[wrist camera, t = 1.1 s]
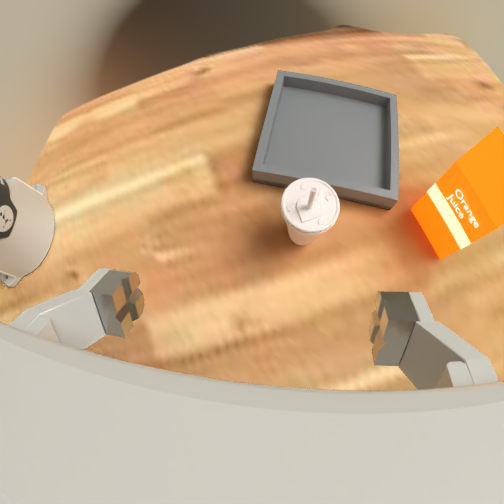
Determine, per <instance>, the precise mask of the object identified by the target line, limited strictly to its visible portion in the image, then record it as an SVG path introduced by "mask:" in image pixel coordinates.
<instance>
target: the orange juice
mask: <svg viewBox="0 0 504 504" xmlns="http://www.w3.org/2000/svg"><path fill="white" fill-rule="evenodd" d="M411 211H412V212H413V214H414V216H415V217H416V219H417V221H418V222H419V224H420V226H421V227H422V229H423V231H424V232H425V234H426V236H427V238H428V239H429V241H430V243H431V245H432V246H433V248H434V250H435V252H436V254H437V256H438V257H439V259H442V258H444V257H446V256H448V255H450V254H452V253H454V252H456V251H458V250H459V249H462V248H464V247H466V246H468V245H469V244H471V243H472V242H474V241H476V240H478V239H480V238H481V237H483V236H485V235H487V234H488V233H490V232H492V231H494V230H495V229H497V228H499V227H500V226H501V225H502V224H504V134H503V133H502V131H501V130H500V129H499V127H498V126H497V127H496V128H495V129H494V130H493V131H492V132H491V133H489V134H488V135H487V136H486V137H485V138H484V139H482V140H481V141H480V142H479V143H478V144H477V145H475V146H474V147H473V148H472V149H471V150H469V151H468V152H467V153H466V154H465V155H463V156H462V157H461V158H460V159H459V160H457V161H456V162H455V163H454V164H453V165H452V166H451V168H450V169H449V170H448V171H447V172H446V173H445V174H444V175H443V176H442V177H441V178H440V179H439V180H438V181H437V182H436V183H435V184H434V185H433V186H432V187H431V188H430V189H429V190H428V191H427V193H426V194H425V195H424V196H423V197H422V198H421V199H420V200H419V201H418V202H417V203H416V204H415V205H414V206H413V207H412V208H411Z"/></svg>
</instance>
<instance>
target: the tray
mask: <svg viewBox="0 0 504 504" xmlns="http://www.w3.org/2000/svg"><path fill="white" fill-rule="evenodd" d="M252 175H253V182H256V183H262V184H268V185H273V186H279V187H284V188H287V187H288V186H289V185H290V184H291V183H292V182H294V181H296V180H298V179H301V178H316V179H320V180H322V181H324V182H326V183H327V184H329V185H330V186H331V187H332V188H333V189H334V191H335V192H336V194H337V196H338V198H339V199H344V200H348V201H353V202H357V203H362V204H366V205H370V206H375V207H379V208H383V209H387V210H390V209H391V208H392V207H393V206H394V204H395V203H396V202H397V201H398V186H399V140H398V114H397V98H396V95H394V94H390V93H387V92H383V91H380V90H376V89H372V88H368V87H364V86H360V85H356V84H352V83H347V82H343V81H338V80H333V79H328V78H323V77H318V76H312V75H306V74H300V73H294V72H287V71H280V70H278V72H277V76H276V80H275V84H274V87H273V91H272V95H271V99H270V102H269V106H268V110H267V114H266V117H265V121H264V125H263V129H262V133H261V137H260V140H259V144H258V148H257V152H256V156H255V160H254V164H253V168H252Z"/></svg>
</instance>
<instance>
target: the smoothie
mask: <svg viewBox="0 0 504 504" xmlns="http://www.w3.org/2000/svg"><path fill="white" fill-rule="evenodd" d="M280 209H281V213H282V216H283V218H284V220H285V222H286V224H287V228H288V233H289V237H290V239H291V240H292V241H293V242H294V243H295V244H297V245H302V246H304V245H308V244H310V243H311V242H312V241H313V240H315V239H316V238H317V237H318V236H319V235H320V234H321V233H323V232H325V231H327V230H329V229H330V228H331V227H332V226H333V225H334V223H335V222H336V220H337V217H338V214H339V210H340V203H339V199H338V196H337V194H336V192H335V191H334V189H333V188H332V187H331V186H330V185H329V184H327V183H326V182H324V181H322V180H320V179H316V178H301V179H298V180H296V181H294V182H292V183H291V184H290V185H289V186H288V187H287V188H286V189H285V191H284V193H283V195H282V199H281V208H280Z"/></svg>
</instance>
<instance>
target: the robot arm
mask: <svg viewBox="0 0 504 504" xmlns="http://www.w3.org/2000/svg"><path fill="white" fill-rule="evenodd" d="M54 226H55V220H54V213H53V210H52V207H51V205H50V204H49V202H48V199H47V189H46V186H44V185H42V184H36V185H28V184H26V183H24V182H23V181H21V180H20V179H18V178H16V177H13V178H8V179H5V180H4V179H2V178H1V177H0V280H1V281H3V282H4V283H5V284H6V285H7V286H9V287H11V288H13V287H15V286H16V285H17V284H18V282H19V281H20V280H21V278H22V277H24V276H25V275H27V274H29V273H31V272H32V271H34V270H35V269H36V268H37V267H38V266H39V265H40V264H41V262H42V261H43V259H44V258H45V256H46V254H47V252H48V250H49V248H50V245H51V242H52V239H53V234H54ZM139 285H140V279H139V276H138V274H137V273H136V272H131V271H123V270H115V269H108V268H100V269H98V270H97V271H96V272H95V273H94V274H93V275H92V276H91V277H90V278H89V279H88V280H87V281H86V282H85V283H84V284H83V285H82V286H81V287H80V288H79V289H78V290H75V289H74V290H72V291H69V292H67V293H64V294H62V295H59V296H57V297H54V298H52V299H50V300H47V301H45V302H42V303H40V304H38V305H35V306H33V307H30V308H28V309H26V310H24V311H23V312H22V313H21V314H20V315H19V316H18V317H17V318H16V319H15V320H14V321H13V322H12V323H11V324H10V325H7V324H5V323H2V322H0V504H504V381H501V382H499V380H498V378H497V376H496V373H495V371H494V369H493V367H492V365H491V362H490V360H489V358H487V357H486V356H485V355H483V354H482V353H481V352H479V351H478V350H477V349H475V348H474V347H473V346H471V345H470V344H469V343H467V342H466V341H465V340H463V339H462V338H461V337H459V336H458V335H457V334H455V333H454V332H452V331H451V330H450V329H448V328H447V327H446V326H444V325H443V324H441V323H440V322H435V320H434V318H433V316H432V313H431V311H430V309H429V307H428V305H427V302H426V300H425V298H424V296H423V294H422V293H421V292H384V291H378V292H377V294H376V298H375V307H376V310H375V311H374V312H372V314H371V319H370V326H369V336H370V341H371V342H372V343H373V344H374V345H373V348H372V354H373V360H374V365H384V366H399V368H400V369H401V370H402V371H403V373H404V374H405V375H406V376H407V377H408V378H409V380H410V381H411V382H412V383H413V384H414V385H415V387H416V388H417V389H416V390H377V391H371V390H329V389H310V388H296V387H283V386H273V385H263V384H254V383H245V382H237V381H230V380H222V379H215V378H209V377H203V376H196V375H191V374H185V373H179V372H174V371H169V370H164V369H159V368H154V367H149V366H145V365H140V364H136V363H132V362H127V361H123V360H119V359H115V358H111V357H107V356H103V355H100V354H96V353H92V352H89V351H85V350H84V349H86V348H87V347H89V346H90V345H92V344H93V343H95V342H96V341H98V340H99V339H101V338H102V337H104V336H105V335H106V334H108V335H113V336H118V337H124V338H126V336H127V335H128V333H129V332H130V330H131V329H132V327H133V322H132V321H134V320H136V319H138V318H139V317H140V316H141V314H142V312H143V308H144V297H143V293H142V292H141V291H140V290H139V288H138V286H139Z"/></svg>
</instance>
